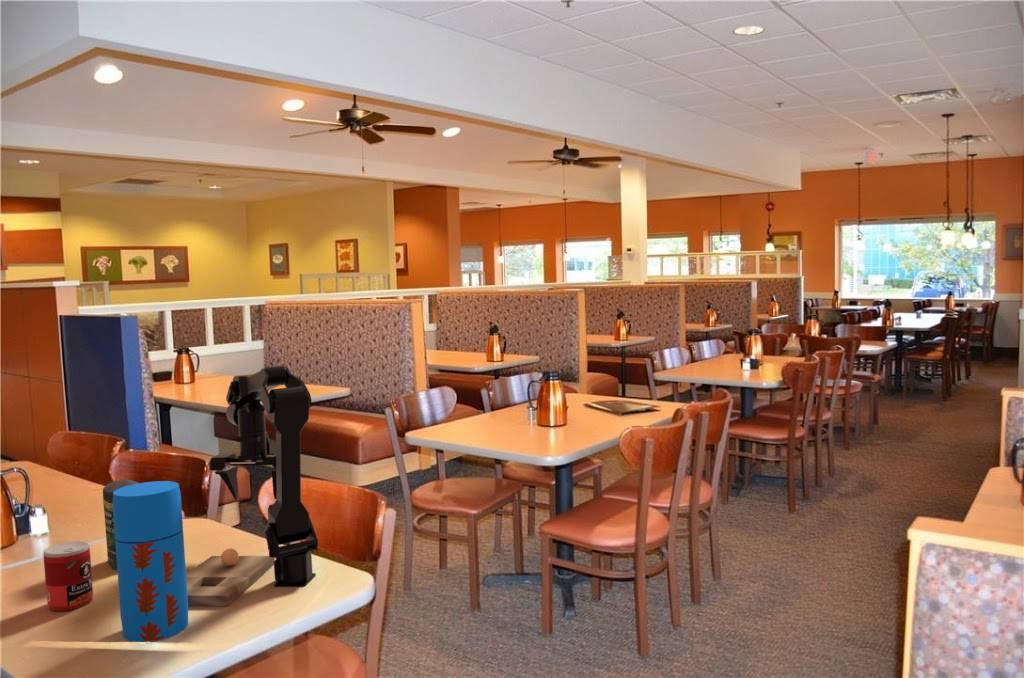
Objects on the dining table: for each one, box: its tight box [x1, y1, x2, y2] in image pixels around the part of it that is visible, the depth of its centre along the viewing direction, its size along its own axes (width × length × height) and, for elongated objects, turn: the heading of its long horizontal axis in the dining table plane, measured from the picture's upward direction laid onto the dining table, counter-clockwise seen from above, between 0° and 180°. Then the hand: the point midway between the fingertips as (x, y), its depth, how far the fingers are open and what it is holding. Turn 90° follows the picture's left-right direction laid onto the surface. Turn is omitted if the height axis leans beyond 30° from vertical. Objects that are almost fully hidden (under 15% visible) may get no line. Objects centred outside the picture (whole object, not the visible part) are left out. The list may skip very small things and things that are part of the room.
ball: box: [220, 548, 240, 566], centre depth 167 cm, size 4×4×4 cm
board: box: [186, 555, 276, 607], centre depth 162 cm, size 14×22×2 cm, turn 174°
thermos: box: [113, 480, 189, 643], centre depth 140 cm, size 11×11×25 cm
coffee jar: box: [102, 478, 140, 571], centre depth 175 cm, size 10×8×19 cm
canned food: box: [42, 540, 94, 612], centre depth 154 cm, size 8×8×11 cm
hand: (256, 499), depth 181 cm, fingers open, 9 cm apart
